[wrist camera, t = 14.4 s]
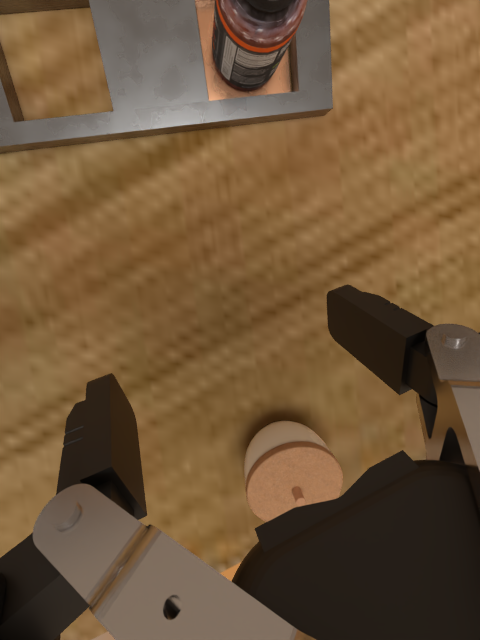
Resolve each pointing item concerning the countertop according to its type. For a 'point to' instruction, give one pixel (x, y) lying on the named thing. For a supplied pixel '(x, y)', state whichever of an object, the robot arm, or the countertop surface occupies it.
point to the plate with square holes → (171, 75)
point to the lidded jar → (289, 470)
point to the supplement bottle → (253, 38)
